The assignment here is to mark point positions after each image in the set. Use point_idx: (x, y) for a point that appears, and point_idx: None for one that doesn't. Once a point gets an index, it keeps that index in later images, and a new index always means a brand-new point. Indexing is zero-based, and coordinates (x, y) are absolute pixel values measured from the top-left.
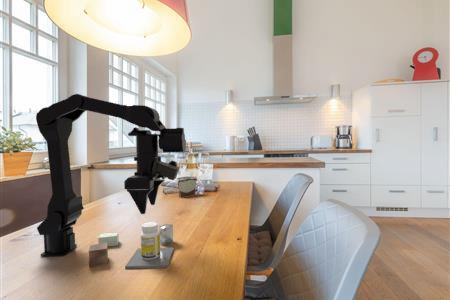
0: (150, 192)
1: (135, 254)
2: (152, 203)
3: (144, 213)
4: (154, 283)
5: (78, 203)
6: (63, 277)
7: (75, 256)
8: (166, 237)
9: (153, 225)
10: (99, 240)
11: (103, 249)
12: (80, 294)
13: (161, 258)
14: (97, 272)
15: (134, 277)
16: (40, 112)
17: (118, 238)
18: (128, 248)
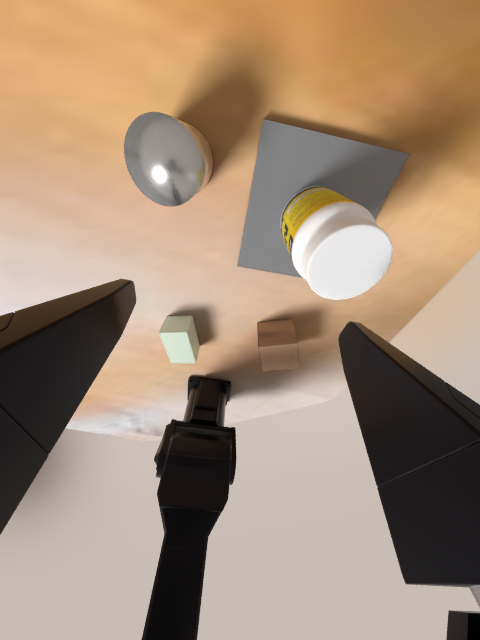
0: (72, 376)
1: (278, 267)
2: (132, 297)
3: (359, 325)
4: (472, 196)
5: (180, 480)
6: (315, 365)
7: (236, 368)
8: (207, 160)
9: (378, 247)
10: (196, 356)
11: (297, 347)
12: (393, 334)
13: (344, 179)
14: (324, 327)
15: (397, 254)
16: None
17: (164, 321)
18: (216, 288)
